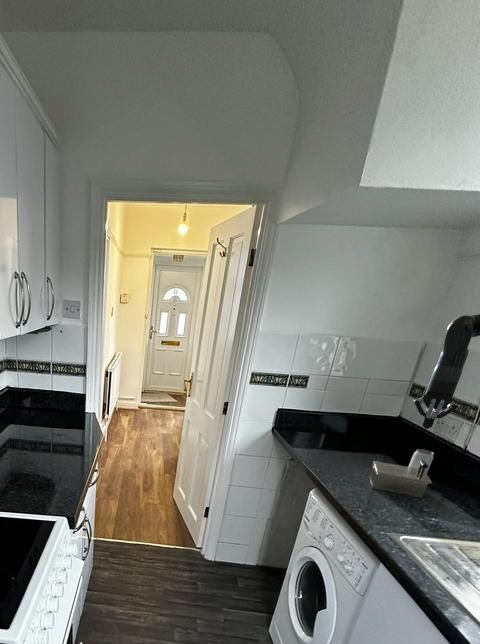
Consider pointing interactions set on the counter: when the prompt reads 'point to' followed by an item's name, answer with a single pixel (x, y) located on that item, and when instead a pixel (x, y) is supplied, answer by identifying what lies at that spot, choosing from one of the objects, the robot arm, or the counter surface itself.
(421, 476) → the lid
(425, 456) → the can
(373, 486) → the beige storage tray
